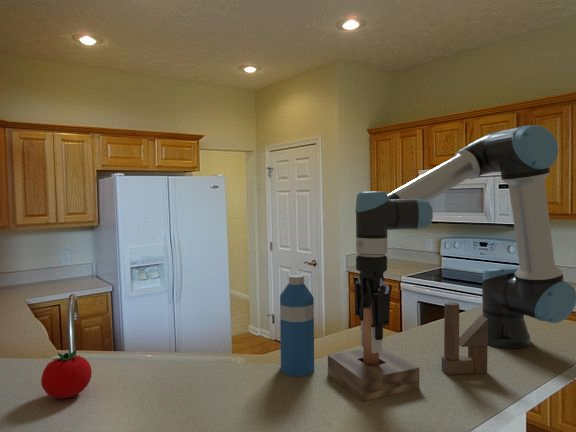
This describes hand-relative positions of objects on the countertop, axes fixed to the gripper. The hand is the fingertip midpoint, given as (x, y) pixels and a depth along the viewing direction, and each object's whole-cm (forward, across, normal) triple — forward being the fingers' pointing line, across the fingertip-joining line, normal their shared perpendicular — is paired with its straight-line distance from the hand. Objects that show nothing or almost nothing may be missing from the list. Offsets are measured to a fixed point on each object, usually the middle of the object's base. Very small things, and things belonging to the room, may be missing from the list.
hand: (371, 348), depth 104 cm
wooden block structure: (+8, +5, +25) cm, 27 cm away
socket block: (+8, 0, 0) cm, 8 cm away
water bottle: (+8, -14, -14) cm, 21 cm away
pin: (+4, 0, 0) cm, 4 cm away
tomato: (+9, -22, -69) cm, 73 cm away
